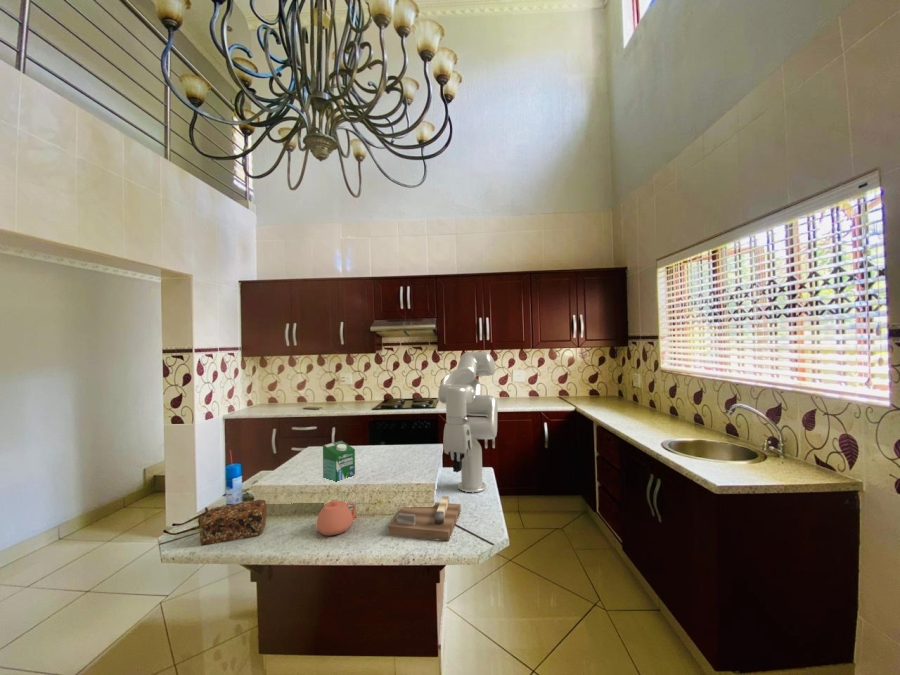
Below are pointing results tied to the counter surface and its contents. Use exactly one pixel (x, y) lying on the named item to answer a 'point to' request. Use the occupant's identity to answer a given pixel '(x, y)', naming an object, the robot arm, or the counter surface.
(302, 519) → the counter surface
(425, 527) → the wooden board
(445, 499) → the folding leg
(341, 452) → the milk carton
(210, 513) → the bread
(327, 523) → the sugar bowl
